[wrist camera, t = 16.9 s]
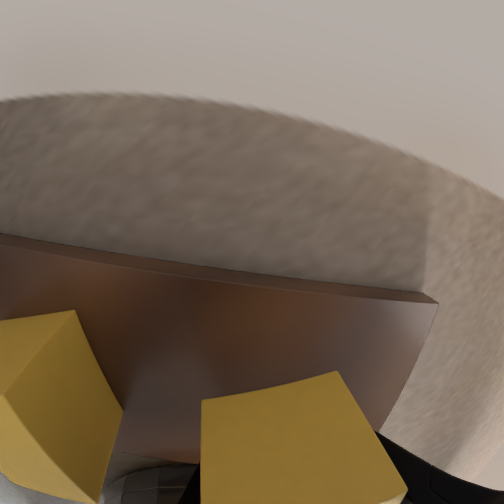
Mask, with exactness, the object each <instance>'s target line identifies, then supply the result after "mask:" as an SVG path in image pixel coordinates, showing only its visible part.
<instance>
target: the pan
mask: <svg viewBox="0 0 504 504" xmlns="http://www.w3.org/2000/svg"><path fill="white" fill-rule="evenodd" d="M197 465H198V464H192V463H187V464H176V465H167V466H160V467H153V468H149V469H144V470H140V471H137V472H134V473H131V474H129V475H125V476H124V477H122V478H120V479H118V480H117V481H115V482H113V483H111V484H109V485H108V487H107V490H106V494H105V498H104V502H103V504H177V503H178V501H179V499H180V497H181V495H182V493H183V492H184V490H185V488H186V486H187V484H188V482H189V480H190V478H191V477H192V475H193V473H194V471H195V469H196V467H197Z"/></svg>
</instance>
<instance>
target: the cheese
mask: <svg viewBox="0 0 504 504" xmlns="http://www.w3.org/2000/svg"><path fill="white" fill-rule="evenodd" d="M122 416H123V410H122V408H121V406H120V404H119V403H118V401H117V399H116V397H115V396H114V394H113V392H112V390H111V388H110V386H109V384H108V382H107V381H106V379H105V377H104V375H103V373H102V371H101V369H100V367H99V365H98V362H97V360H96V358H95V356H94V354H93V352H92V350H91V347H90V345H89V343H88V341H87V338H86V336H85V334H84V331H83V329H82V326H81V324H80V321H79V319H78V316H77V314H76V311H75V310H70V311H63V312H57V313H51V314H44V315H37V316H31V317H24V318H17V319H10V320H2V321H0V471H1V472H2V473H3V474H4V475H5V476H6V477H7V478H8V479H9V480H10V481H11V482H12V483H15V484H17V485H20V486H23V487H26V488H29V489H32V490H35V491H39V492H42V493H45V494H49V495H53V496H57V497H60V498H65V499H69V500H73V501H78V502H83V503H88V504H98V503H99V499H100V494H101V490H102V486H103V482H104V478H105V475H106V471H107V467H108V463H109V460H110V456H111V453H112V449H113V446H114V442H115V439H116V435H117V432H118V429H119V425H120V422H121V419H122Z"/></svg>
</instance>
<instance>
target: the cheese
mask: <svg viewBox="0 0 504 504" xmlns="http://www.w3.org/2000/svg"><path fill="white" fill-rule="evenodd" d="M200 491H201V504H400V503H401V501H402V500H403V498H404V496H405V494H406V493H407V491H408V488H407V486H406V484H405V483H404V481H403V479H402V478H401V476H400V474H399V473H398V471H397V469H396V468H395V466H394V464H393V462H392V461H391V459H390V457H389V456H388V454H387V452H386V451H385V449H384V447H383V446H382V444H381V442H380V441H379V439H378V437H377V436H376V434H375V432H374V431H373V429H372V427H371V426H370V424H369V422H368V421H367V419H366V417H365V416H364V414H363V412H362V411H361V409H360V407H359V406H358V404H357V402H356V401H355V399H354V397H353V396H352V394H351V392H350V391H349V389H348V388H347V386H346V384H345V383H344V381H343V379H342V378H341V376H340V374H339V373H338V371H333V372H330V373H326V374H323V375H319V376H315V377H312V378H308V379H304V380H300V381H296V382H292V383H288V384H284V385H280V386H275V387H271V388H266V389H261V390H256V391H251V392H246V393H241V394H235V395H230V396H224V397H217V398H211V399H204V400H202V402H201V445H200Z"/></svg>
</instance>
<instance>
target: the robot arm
mask: <svg viewBox="0 0 504 504" xmlns="http://www.w3.org/2000/svg"><path fill="white" fill-rule="evenodd" d="M373 431H374V432H375V434H376V436H377V437H378V439H379V441H380V442H381V444H382V446H383V447H384V449H385V451H386V452H387V454H388V456H389V457H390V459H391V461H392V462H393V464H394V466H395V468H396V469H397V471H398V473H399V474H400V476H401V478H402V479H403V481H404V483H405V484H406V486H407V488H408V491H407V493H406V494H405V496H404V498H403V500H402V501H401V503H400V504H504V491H498V490H493V489H489V488H486V487H482V486H480V485H477V484H474V483H471V482H468V481H465V480H462V479H460V478H457V477H455V476H452V475H450V474H448V473H446V472H444V471H442V470H440V469H438V468H436V467H435V466H433V465H432V466H431V464H429V463H428V462H426V461H424V460H422V459H421V458H419V457H417V456H415V455H414V454H412V453H410V452H409V451H407V450H405V449H404V448H402V447H400V446H399V445H397V444H395V443H394V442H392V441H391V440H389V439H387V438H386V437H384V436H383V435H381V434H380V433H378V432H376V431H375V430H373ZM177 504H201V491H200V461H199V463H198V465H197V467H196V469H195V471H194V473H193V475H192V477H191V478H190V480H189V482H188V484H187V486H186V488H185V490H184V492H183V493H182V495H181V497H180V499H179V501H178V503H177Z"/></svg>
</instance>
